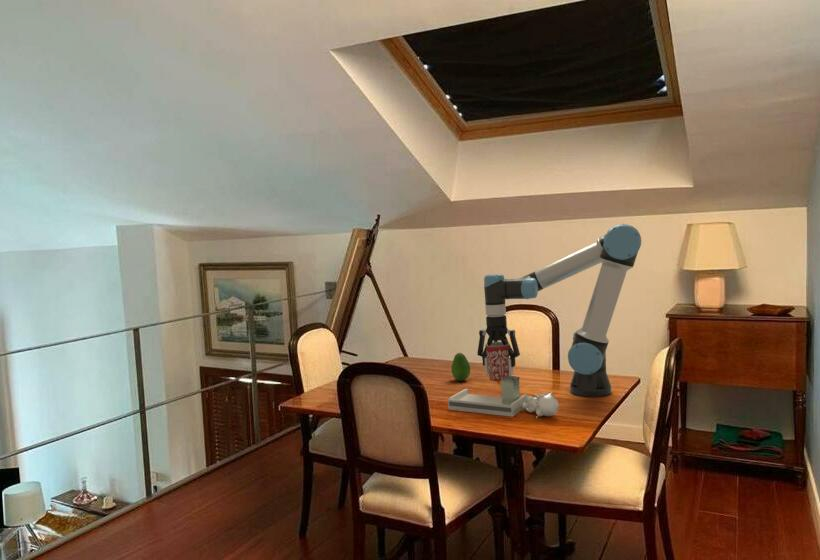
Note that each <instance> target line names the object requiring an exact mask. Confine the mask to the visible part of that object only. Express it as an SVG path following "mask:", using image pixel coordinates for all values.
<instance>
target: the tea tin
mask: <svg viewBox="0 0 820 560" xmlns="http://www.w3.org/2000/svg"><path fill="white" fill-rule="evenodd" d="M500 385H501V387H500V388H501V390H500V391H501V397H502V404H503V405H510V404H511V403H513V402H514V401H515V400H517V399H518V398H520V397H521V395H520V393H521V392H520V391H521V389H520V376H514V375H512V376H506V377H504V378H503V379H501V381H500Z"/></svg>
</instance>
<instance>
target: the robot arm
mask: <svg viewBox="0 0 820 560" xmlns="http://www.w3.org/2000/svg"><path fill="white" fill-rule="evenodd" d="M641 245H642V236H641V234H640V232H639V229H637V228H636V227H634V226H632V225H629V224H624V223H620V224H616V225H614V226H612V227H610V228H609V229H608V230H607V232H606V233H605V234H604V235H602V236H600V237H598V238H596V241H595V242H593V243H591V244H589V245H588V246H585V247H583V248H582V249H579V250H577V251H575V252H572V253H570V254H569V255H566V256H564V257H562V258H561V259H558V260H556V261H554V262H552V263H550V264H548V265H546V266H543V267H541V268H539V269H537V270H535V271H532V272H531V273H528V274H526V275H524V276H522V277H520V278H509V279H508V278H505V275H504V274H502V273H492V274H491V273H490V274H486V275H485V276H484V278H483V284H484V285H483V290H484V292H483V293H484V303H485V315H486V317H485V321H486V322H485V323H486V328H485V329H480V330H479V331H478V334H479V335H478V336H479V341H478V346H477V347H478V348H477V356H479V357H481V359H482V360H481V361H482V366H484V369H485V371H484V373H485V376H489V369H488V360H487V352H486V346H485V340H486V335H488V338H487V342H486V344H488V346H490V345H491V344H492V342H495V341H500V342H502V343H503V345H508V343H509V348H508V351H509V359H508V362H509V376H514V375H515V373H514V367H516V366H517V365H516V358H517V357H519V356H520V355H521V352H520V349H519V345H518V342H517V338H516V330H515V329H512V330H511V329H508V327H507V325H508V322H507V315H506V314H507V309H506V306H507V305H506V300H530V299H531V300H532V299H536V298H537V297H538V293H539V292H540V291H543V290H545V289H546V288H548V287H551V286H553V285H555V284H558V283H559V282H562V281H563V280H566V279H568V278H570V277H574V276H575V275H577V274H580V273H582V272H583V271H585V270H588V269H590V268H593V267H594V266H597V265H599V264H601V267H600V268H599V269H600V270H599V273H598V275H597V278H596V282H595V286H594V288H593V291H592V295H591V298H590V300H589V301H590V302H589V305H588V308H587V311H586V314H585V317H584V320H583V323H582V327H581V328H579V329H577V330H576V331H575V332H573V336H572V343H571V345H570V346H571V347H570V348H569V350H568V353H567V361H568V364H569V366H570V368H571V369H572V370H573V374H572V378H571V382H570V384H569V392H570V393H571V394H573V395H576V396H582V397H603V396H608V395H610V394H611V393H612V385H611V381H610V379H609V376H608V373H607V354H606V351H607V349H608V345H609V341H610V340H609V339H608V336H607V333H608V331H609V328H610V324H611V321H612V318H613V315H614V312H615V309H616V306H617V303H618V300H619V297H620V294H621V290H622V288H623V284H624V282H625V281H624V280H625V279H626V275H627V273H628V271H629V270H631V269H632V268H634V265H635V262H636V260H637V256H638V253H639V250H640V249H641V247H642V246H641ZM507 334H508V336H507ZM508 337H509V340H510V342H509V340H508ZM484 346H485V347H484Z"/></svg>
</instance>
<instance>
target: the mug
mask: <svg viewBox="0 0 820 560" xmlns="http://www.w3.org/2000/svg"><path fill="white" fill-rule="evenodd" d="M509 344H510V342H509V343H508V345H503V343H502V342H501V341H493V342H492V344H491V345H490V346H488V344H487V343H484V346H486V352H487V360H488V369H489V374H488V377H489V381H491V382H501V379H503V378H504V377H506V376H509V362H508V359H509V358H510V356H509V351H508V348H509Z"/></svg>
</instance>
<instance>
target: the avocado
mask: <svg viewBox="0 0 820 560" xmlns="http://www.w3.org/2000/svg"><path fill="white" fill-rule="evenodd" d="M470 365H471V364H470V363H469V361H468V359H467V357H466V355H464V354H463V353H461V352H457V353H456V354H455V355H454V357H453V361H452V364H451V373H452V377H453V378H454V379H455V380H456V381H459V382H462V381H465V380H467V379H468V377H469V376H470V374H471V366H470Z"/></svg>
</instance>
